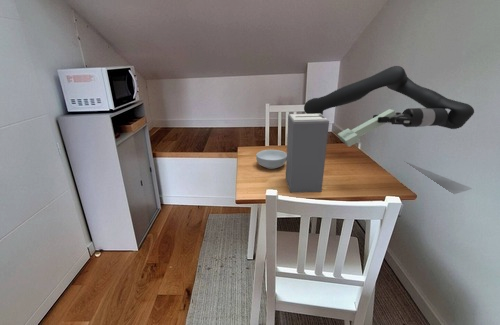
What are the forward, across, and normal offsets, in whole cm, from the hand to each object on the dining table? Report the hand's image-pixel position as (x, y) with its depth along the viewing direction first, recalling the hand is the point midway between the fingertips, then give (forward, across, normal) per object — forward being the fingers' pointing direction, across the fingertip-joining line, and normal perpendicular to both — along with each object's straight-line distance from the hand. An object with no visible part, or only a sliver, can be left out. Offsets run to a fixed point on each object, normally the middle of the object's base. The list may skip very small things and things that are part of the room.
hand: (375, 118), depth 99 cm
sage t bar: (+2, 0, +5) cm, 5 cm away
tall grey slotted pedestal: (+28, -3, +31) cm, 42 cm away
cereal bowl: (+40, -26, +32) cm, 57 cm away
